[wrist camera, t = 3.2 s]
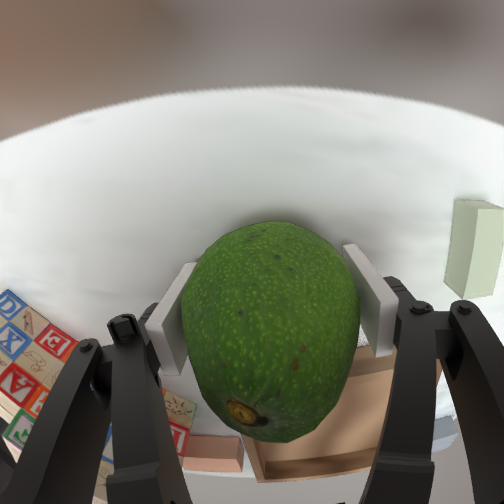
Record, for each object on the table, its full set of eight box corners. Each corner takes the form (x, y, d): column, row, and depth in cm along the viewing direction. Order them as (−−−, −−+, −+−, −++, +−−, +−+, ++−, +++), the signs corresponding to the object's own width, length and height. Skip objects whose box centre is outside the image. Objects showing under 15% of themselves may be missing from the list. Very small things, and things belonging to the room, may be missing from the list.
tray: (259, 460, 26) (257, 482, 23) (231, 361, 21) (227, 389, 18) (398, 440, 24) (404, 460, 22) (430, 332, 19) (446, 355, 16)
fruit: (293, 176, 16) (347, 243, 5) (356, 283, 18) (431, 435, 7) (183, 247, 18) (81, 384, 7) (253, 338, 20) (238, 498, 9)
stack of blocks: (9, 330, 23) (-56, 396, 11) (8, 286, 21) (-75, 354, 9) (178, 432, 25) (149, 534, 14) (199, 403, 23) (169, 526, 12)
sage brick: (471, 277, 18) (492, 295, 15) (442, 280, 18) (462, 300, 15) (482, 200, 16) (508, 209, 13) (452, 198, 16) (478, 208, 13)
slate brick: (397, 440, 25) (403, 460, 22) (405, 425, 24) (413, 445, 21) (440, 429, 24) (448, 447, 22) (449, 414, 23) (459, 432, 21)
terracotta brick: (190, 448, 26) (184, 469, 23) (181, 433, 25) (175, 455, 22) (244, 449, 26) (242, 472, 23) (239, 435, 25) (236, 459, 22)
